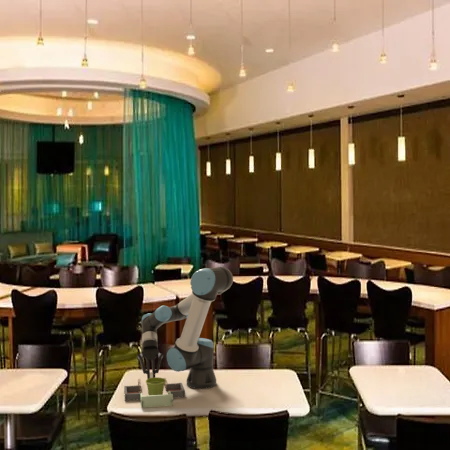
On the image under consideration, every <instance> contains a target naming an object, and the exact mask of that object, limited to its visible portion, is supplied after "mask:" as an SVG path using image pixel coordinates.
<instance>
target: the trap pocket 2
mask: <svg viewBox="0 0 450 450" xmlns="http://www.w3.org/2000/svg"><path fill="white" fill-rule="evenodd" d="M166 391H167V392H168V391H170V392H171V394H173V399H176V398H178V399H179V398H180V399H181V398H186V390H185V387H184V385H183V383H182V382H175V383H168V384H167V390H166Z"/></svg>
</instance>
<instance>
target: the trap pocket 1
mask: <svg viewBox="0 0 450 450" xmlns="http://www.w3.org/2000/svg"><path fill="white" fill-rule="evenodd" d="M123 388H124V389H123V390H124V391H123V392H124V393H123V394H125V395H124V401H125V402H128V401H130V400H131V401H140V394H141V393H142V392H139V385H138V384H136V385H123Z"/></svg>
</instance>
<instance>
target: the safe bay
mask: <svg viewBox="0 0 450 450" xmlns="http://www.w3.org/2000/svg"><path fill="white" fill-rule="evenodd" d="M140 393H141V394H140V400H139V401H140V402H139V403H140V407H141V409H143V408H144V409H145V408H160V407H173V406H174V404H173V403H174V402H173V401H174V398H173V394H171V392H170V391H168V390H167V394H163V395H149V394H148V395H143V392H140Z"/></svg>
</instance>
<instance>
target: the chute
mask: <svg viewBox="0 0 450 450" xmlns="http://www.w3.org/2000/svg"><path fill="white" fill-rule="evenodd" d="M163 378H164V379H165V380H166V382H165V385H164V388H165V391H168V390H167V384H169V383H168V380H167V378H166V377H163ZM137 385H139V393H142V382H141V379H137Z"/></svg>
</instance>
